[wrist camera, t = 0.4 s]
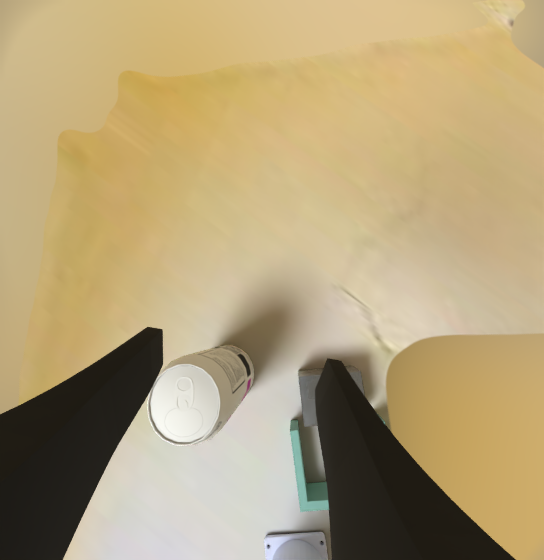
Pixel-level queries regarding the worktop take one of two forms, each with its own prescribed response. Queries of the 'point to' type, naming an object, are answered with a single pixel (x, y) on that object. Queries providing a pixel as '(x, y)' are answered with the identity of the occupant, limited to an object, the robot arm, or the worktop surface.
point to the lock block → (307, 391)
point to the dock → (309, 493)
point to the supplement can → (199, 394)
